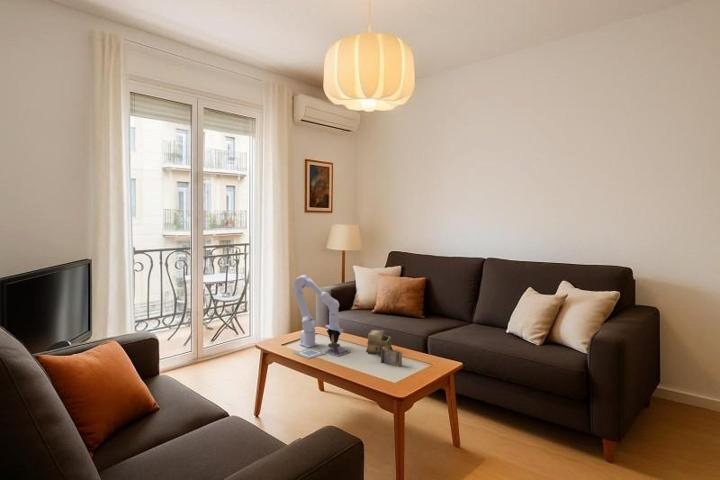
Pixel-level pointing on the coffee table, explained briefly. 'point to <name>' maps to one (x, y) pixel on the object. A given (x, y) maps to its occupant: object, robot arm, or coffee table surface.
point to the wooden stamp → (333, 342)
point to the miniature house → (378, 342)
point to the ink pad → (337, 351)
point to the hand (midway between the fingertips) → (334, 341)
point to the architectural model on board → (391, 357)
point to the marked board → (309, 353)
